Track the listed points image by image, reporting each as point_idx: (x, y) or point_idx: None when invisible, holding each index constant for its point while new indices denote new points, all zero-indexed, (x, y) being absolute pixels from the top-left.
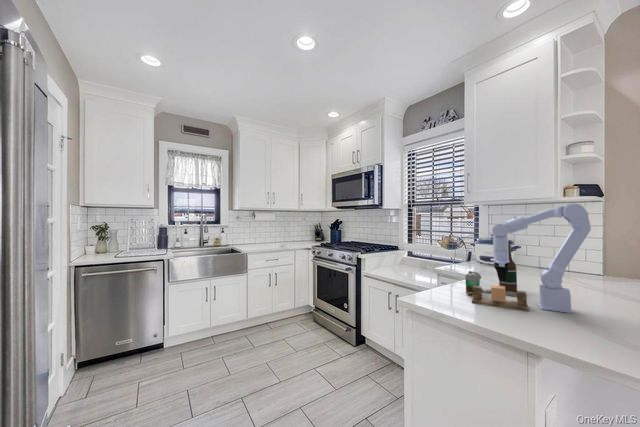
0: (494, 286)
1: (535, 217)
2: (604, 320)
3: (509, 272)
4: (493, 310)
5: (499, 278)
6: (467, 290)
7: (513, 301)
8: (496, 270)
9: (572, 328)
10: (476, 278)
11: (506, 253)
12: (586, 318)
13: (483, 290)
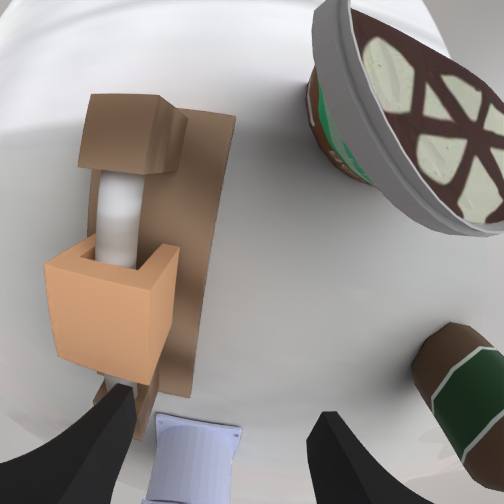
0: (96, 303)
1: None
2: (144, 476)
3: (466, 440)
4: (33, 217)
5: (98, 408)
6: (311, 79)
7: (189, 354)
8: (14, 458)
9: (30, 396)
10: (360, 147)
11: None
12: (135, 460)
13: (99, 188)
